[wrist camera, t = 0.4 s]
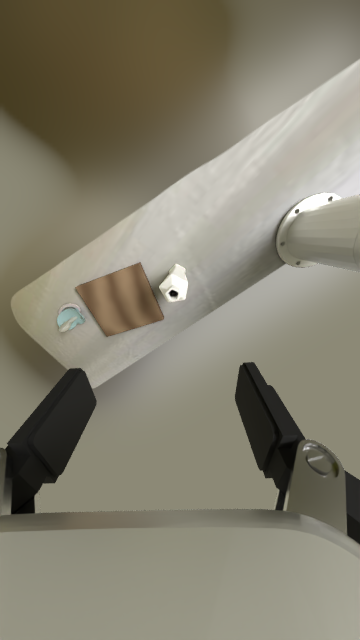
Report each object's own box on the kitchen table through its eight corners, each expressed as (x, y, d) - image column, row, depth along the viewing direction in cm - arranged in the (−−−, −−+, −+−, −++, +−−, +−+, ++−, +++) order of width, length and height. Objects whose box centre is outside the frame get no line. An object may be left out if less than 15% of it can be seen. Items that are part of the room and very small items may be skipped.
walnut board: (140, 262, 36) (138, 263, 35) (164, 316, 42) (163, 319, 41) (78, 285, 39) (75, 287, 37) (109, 333, 45) (107, 336, 43)
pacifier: (54, 310, 42) (71, 328, 45) (34, 320, 37) (54, 341, 39) (75, 298, 41) (91, 317, 43) (57, 307, 35) (77, 329, 37)
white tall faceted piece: (178, 287, 38) (174, 315, 25) (164, 274, 37) (152, 296, 24) (192, 273, 37) (196, 295, 23) (178, 258, 35) (173, 273, 22)
